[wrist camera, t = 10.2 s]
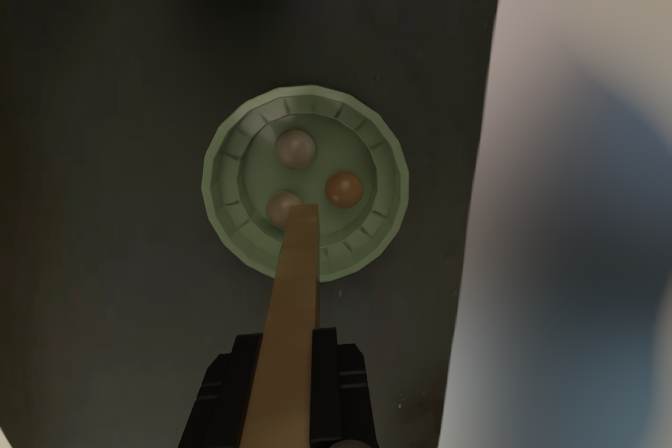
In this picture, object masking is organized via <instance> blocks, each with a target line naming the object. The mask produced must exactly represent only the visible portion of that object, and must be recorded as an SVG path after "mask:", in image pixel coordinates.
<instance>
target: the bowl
mask: <svg viewBox="0 0 672 448" xmlns="http://www.w3.org/2000/svg"><path fill="white" fill-rule="evenodd" d="M290 128H299V129H303V130H305V131H306V132H308V133H309V134H310V135H311V136H312V138H313V140H314V142H315V146H316V153H315V156H314V159H313V160H312V162H311V163H310V164H309V165H308V166H306V167H305V168H302V169H298V170H294V169H289V168H287V167H285V166H283V165H282V164H281V163H280V162H279V160H278V159H277V157H276V154H275V143H276V140H277V138H278V136H279V135H280V134H281V133H282V132H283V131H285V130H287V129H290ZM340 170H348V171H351V172H353V173H355V174H356V175H357V176H358V177H359V178H360V179H361V181H362V184H363V195H362V198H361V200H360V201H359V202H358V203H357V204H356V205H355V206H353V207H351V208H348V209H340V208H337V207H335V206H333V205H332V204H331V203H330V202H329V201H328V200H327V198H326V195H325V184H326V181H327V179H328V178H329V177H330V176H331V175H332V174H333V173H335V172H337V171H340ZM201 189H202V194H203V198H204V202H205V207H206V211H207V215H208V218H209V220H210V222H211V224H212V225H213V227H214V229H215V231H216V232H217V234H218V236H219V237H220V239H221V241H222V242H223V244H224V245H225V246H226V247H227V248H228V249H229V250H230V251H231V252H233V253H234V254H235V255H236V256H237V257H238V258H239V259H240V260H241V261H242V262H244V263H245V264H246V265H247V266H249V267H251V268H253V269H255V270H257V271H259V272H261V273H264V274H266V275H268V276H270V277H272V278H275V275H276V270H277V265H278V261H279V256H280V252H281V247H282V242H283V238H284V233H285V229H283V228H279V227H277V226H275V225H273V224H272V223H271V222H270V220H269V219H268V216H267V213H266V206H267V203H268V201H269V199H270V198H271V196H272V195H274V194H275V193H277V192H280V191H291V192H294V193H295V194H297V195H298V196H299V197H300V198H301V199H302V201H303V203H304V204H318V213H319V224H320V282H328V281H333V280H335V279H338V278H341V277H344V276H346V275H349V274H352V273H355V272H357V271H359V270H360V269H362V268H363V267H364V266H366V265H367V264H369V263H370V262H371V261H373V260H374V259H375V258H377V257H378V256H380V255H381V254H382V252H383V251H384V250H385V249H386V247H387V246H388V245H389V243H390V242H391V241H392V239H393V238H394V237H395V235H396V234H397V233H398V231H399V229H400V226H401V223H402V220H403V217H404V215H405V212H406V209H407V206H408V202H409V170H408V167H407V164H406V161H405V158H404V155H403V152H402V148H401V145H400V142H399V140H398V139H397V138H396V136H395V135H394V134H393V132H392V131H391V130H390V128H389V127H388V126H387V124H386V123H385V122H384V120H383V119H382V118H381V116H380V115H379V114H378V113H376V112H375V111H374V110H373V109H371V108H370V107H369V106H367V105H366V104H364V103H363V102H361V101H360V100H358V99H357V98H355V97H354V96H352V95H351V94H349V93H348V92H347V91H344V90H341V89H338V88H334V87H330V86H326V85H323V84H319V83H300V84H286V85H282V86H280V87H277V88H275V89H273V90H271V91H268V92H266V93H264V94H261V95H259V96H257V97H255V98H252V99H250V100H248V101H245V102H244V103H243V104H242V105H241V106H240V107H239V108H238V109H237V110H236V111H234V112H233V113H232V114H231V115H230V116H229V117H228V118H227V119H226V120H225V121H224V122H223V123H222V124H221V125H220V126H219V128H218V130H217V132H216V134H215V136H214V138H213V140H212V142H211V144H210V146H209V148H208V150H207V152H206V154H205V157H204V167H203V176H202V185H201Z"/></svg>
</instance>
